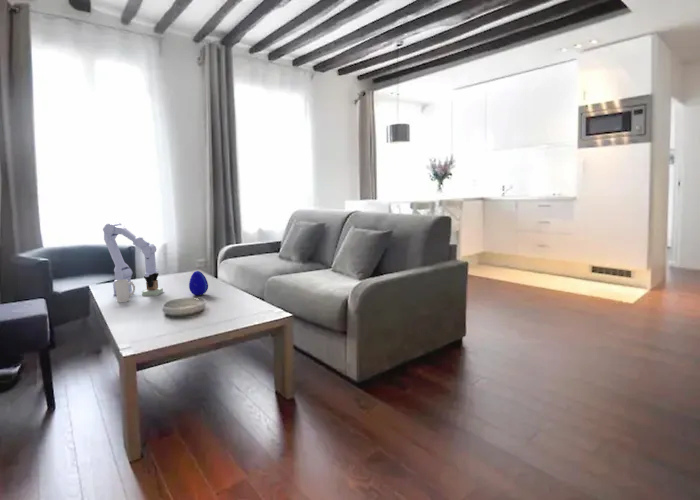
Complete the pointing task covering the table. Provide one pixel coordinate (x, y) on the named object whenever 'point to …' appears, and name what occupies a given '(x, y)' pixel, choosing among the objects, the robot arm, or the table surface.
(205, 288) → the ornament
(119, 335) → the table surface
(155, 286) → the walnut cube
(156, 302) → the table surface
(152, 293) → the base plate
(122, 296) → the mug
